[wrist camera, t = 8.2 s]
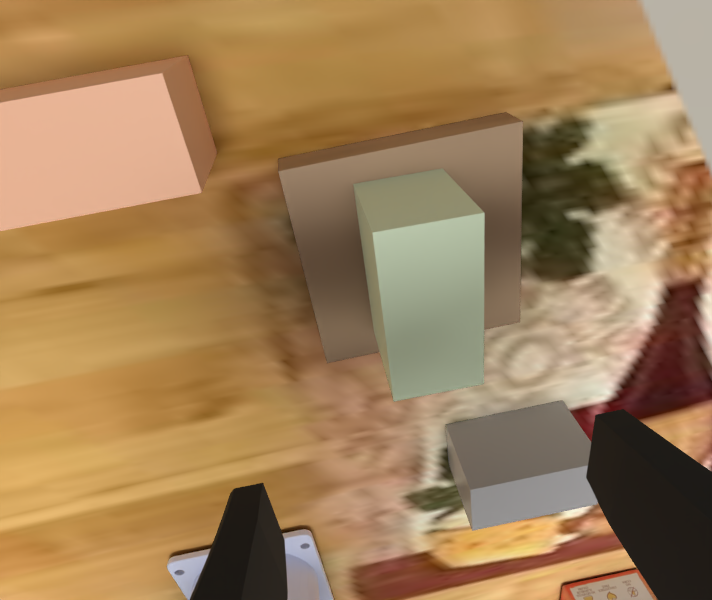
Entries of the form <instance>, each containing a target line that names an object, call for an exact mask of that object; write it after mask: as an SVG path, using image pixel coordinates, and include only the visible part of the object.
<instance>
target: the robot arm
mask: <svg viewBox="0 0 712 600" xmlns="http://www.w3.org/2000/svg"><path fill="white" fill-rule="evenodd" d="M586 478H587V480H588V482H589V484H590V486H591V489H592V491H593V493H594V495H595V497H596V499H597V501H598V503H599V505H600V507H601V509H602V511H603V513H604V515H605V517H606V519H607V521H608V523H609V524H610V526H611V528H612V529H613V531H614V532H615V534H616V536H617V537H618V539H619V540H620V542H621V544H622V545H623V547H624V548H625V550H626V551H627V553H628V555H629V556H630V558H631V559H632V561H633V562H634V564H635V565H636V567H637V569H638V570H639V572H640V573H641V575H642V576H643V578H644V579H645V581H646V582H647V584H648V586H649V587H650V589H651V590H652V592H653V593H654V595H655V596H656V598H657V599H658V600H712V472H711V471H710V470H708V469H707V468H705V467H704V466H702V465H701V464H700V463H698V462H697V461H695V460H694V459H692V458H691V457H690V456H688V455H687V454H685V453H684V452H682V451H681V450H680V449H678V448H677V447H675V446H674V445H673V444H671V443H670V442H668V441H667V440H666V439H664V438H663V437H661V436H660V435H659V434H657V433H656V432H654V431H653V430H652V429H650V428H649V427H647V426H646V425H645V424H643V423H642V422H640V421H639V420H638V419H636V418H635V417H633V416H632V415H631V414H629V413H628V412H626V411H625V410H624V409H622V410H617V411H613V412H608V413H603V414H598V415H596V416H595V423H594V429H593V436H592V442H591V449H590V455H589V461H588V468H587V474H586ZM167 569H168V570H169V572H170V573H171V575H172V577H173V578H174V580H175V581H176V583H177V584H178V586H179V587H180V589H181V591H182V592H183V594H184V595H185V597H186V598H187V600H334V597H333V595H332V592H331V589H330V586H329V583H328V580H327V577H326V574H325V571H324V568H323V565H322V562H321V559H320V556H319V553H318V550H317V547H316V544H315V541H314V538H313V535H312V533H311V531H309V530H306V529H302V530H297V531H292V532H287V533H282V532H281V529H280V527H279V524H278V521H277V519H276V516H275V513H274V511H273V508H272V506H271V503H270V500H269V498H268V495H267V492H266V490H265V487H264V484H263V483H260V484H255V485H250V486H245V487H240V488H235V489H234V490H233V491H232V492H231V493H230V496H229V499H228V502H227V505H226V508H225V511H224V514H223V517H222V520H221V523H220V525H219V528H218V531H217V533H216V536H215V539H214V541H213V544H212V547H211V549H206V550H201V551H197V552H192V553H187V554H182V555H178V556H174V557H171V558H170V559H169V560H168V564H167Z"/></svg>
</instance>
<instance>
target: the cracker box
mask: <svg viewBox="0 0 712 600" xmlns="http://www.w3.org/2000/svg"><path fill="white" fill-rule="evenodd" d="M561 600H657V598H656V597H655V595H654V594H653V592H652V591H651V589H650V587H649V586H648V584H647V582H646V581H645V580H644V578H643V576H642V575H641V573H640V572H639V571H638V570H637V569H635V570H630V571H625V572H621V573H617V574H612V575H608V576H603V577H598V578H594V579H590V580H585V581H580V582H576V583H571V584H567V585H564V586H563V587H562V593H561Z"/></svg>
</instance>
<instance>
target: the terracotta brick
mask: <svg viewBox="0 0 712 600" xmlns="http://www.w3.org/2000/svg"><path fill="white" fill-rule="evenodd" d="M216 155H217V151H216V147H215V144H214V141H213V137H212V134H211V131H210V127H209V124H208V121H207V117H206V114H205V111H204V107H203V104H202V101H201V97H200V94H199V91H198V87H197V84H196V81H195V77H194V74H193V71H192V67H191V64H190V61H189V57H188V55H186V56H181V57H176V58H170V59H165V60H159V61H154V62H148V63H143V64H137V65H132V66H126V67H121V68H115V69H110V70H104V71H99V72H93V73H88V74H82V75H77V76H71V77H66V78H60V79H55V80H49V81H44V82H38V83H33V84H27V85H22V86H16V87H11V88H5V89H0V231H3V230H8V229H14V228H19V227H24V226H29V225H35V224H40V223H45V222H51V221H56V220H61V219H66V218H72V217H77V216H82V215H87V214H93V213H98V212H103V211H108V210H114V209H119V208H124V207H130V206H135V205H140V204H145V203H151V202H156V201H161V200H166V199H172V198H177V197H182V196H187V195H193V194H198V193H202V191H203V188H204V186H205V183H206V181H207V178H208V176H209V173H210V171H211V168H212V165H213V163H214V160H215V158H216Z"/></svg>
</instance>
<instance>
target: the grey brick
mask: <svg viewBox="0 0 712 600" xmlns="http://www.w3.org/2000/svg"><path fill="white" fill-rule="evenodd" d="M446 436H447V449H448V461H449V466H450V469H451V472H452V475H453V478H454V480H455V483H456V486H457V489H458V492H459V494H460V497H461V500H462V503H463V506H464V509H465V511H466V514H467V517H468V520H469V523H470V526H471V528H472V531H473V530H478V529H482V528H487V527H492V526H497V525H501V524H506V523H511V522H515V521H520V520H525V519H530V518H534V517H539V516H544V515H548V514H553V513H558V512H562V511H567V510H572V509H577V508H581V507H586V506H591V505H595V504H597V502H598V501H597V499H596V497H595V495H594V493H593V491H592V489H591V486H590V484H589V482H588V480H587V478H586V474H587V468H588V461H589V455H590V449H591V442H590V440H589V439H588V437H587V436H586V434H585V433H584V431H583V430H582V428H581V427H580V425H579V424H578V423H577V421H576V420H575V418H574V417H573V415H572V414H571V412H570V411H569V409H568V408H567V407H566V405H565V404H564V402H563V401H557V402H552V403H547V404H542V405H537V406H533V407H528V408H523V409H518V410H513V411H508V412H504V413H499V414H494V415H489V416H484V417H479V418H475V419H470V420H465V421H460V422H455V423H450V424H446Z"/></svg>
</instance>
